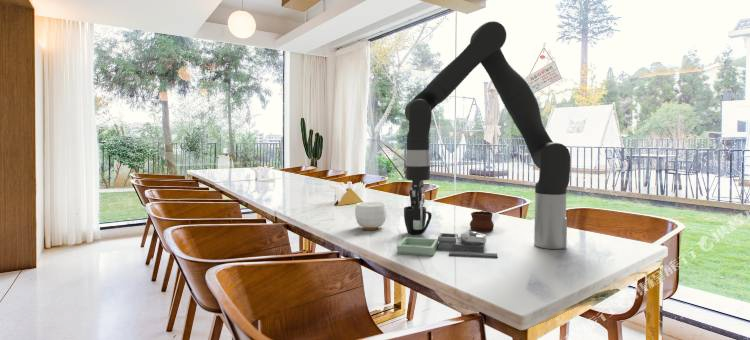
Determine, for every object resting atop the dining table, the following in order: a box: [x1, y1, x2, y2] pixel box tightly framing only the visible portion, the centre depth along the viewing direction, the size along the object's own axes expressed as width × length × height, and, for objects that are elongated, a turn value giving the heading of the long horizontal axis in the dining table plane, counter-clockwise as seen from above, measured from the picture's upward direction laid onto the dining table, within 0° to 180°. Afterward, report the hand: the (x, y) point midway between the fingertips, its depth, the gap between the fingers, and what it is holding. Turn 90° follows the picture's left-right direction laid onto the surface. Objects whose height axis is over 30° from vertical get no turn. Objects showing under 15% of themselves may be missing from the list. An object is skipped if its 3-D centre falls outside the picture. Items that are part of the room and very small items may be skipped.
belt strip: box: [448, 250, 498, 259], centre depth 123 cm, size 14×2×1 cm, turn 78°
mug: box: [403, 205, 433, 236], centre depth 151 cm, size 8×12×10 cm
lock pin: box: [413, 194, 424, 230], centre depth 129 cm, size 4×4×11 cm
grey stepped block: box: [437, 230, 487, 253], centre depth 133 cm, size 15×10×5 cm
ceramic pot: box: [469, 210, 495, 233], centre depth 156 cm, size 18×18×7 cm
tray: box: [396, 236, 439, 257], centre depth 130 cm, size 11×11×2 cm
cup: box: [354, 201, 387, 231], centre depth 162 cm, size 12×12×10 cm
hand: (417, 218), depth 129 cm, fingers closed on lock pin, 2 cm apart
